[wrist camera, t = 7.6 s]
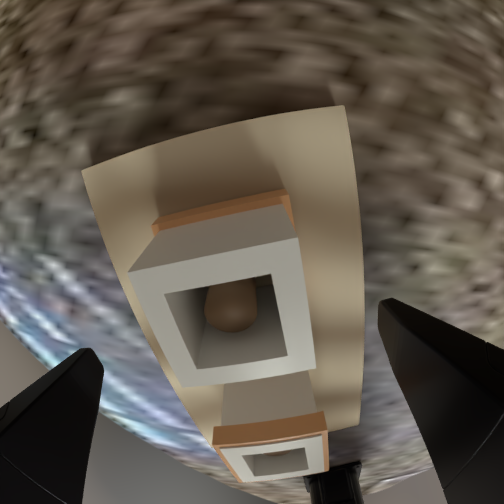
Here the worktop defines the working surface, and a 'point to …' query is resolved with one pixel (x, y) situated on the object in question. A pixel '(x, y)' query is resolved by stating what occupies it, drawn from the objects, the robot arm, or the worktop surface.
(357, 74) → the worktop surface
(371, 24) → the worktop surface
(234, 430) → the seated sleeve
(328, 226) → the pin board
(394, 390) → the worktop surface
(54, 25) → the worktop surface
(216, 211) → the sleeve
